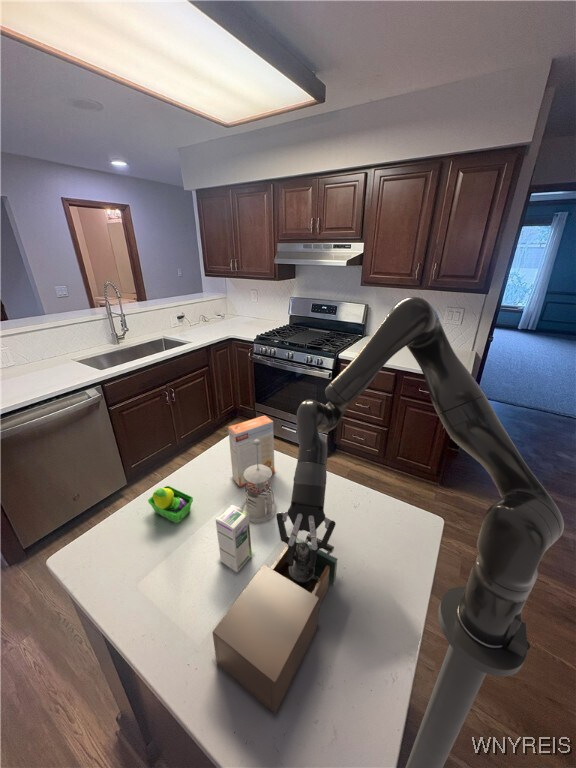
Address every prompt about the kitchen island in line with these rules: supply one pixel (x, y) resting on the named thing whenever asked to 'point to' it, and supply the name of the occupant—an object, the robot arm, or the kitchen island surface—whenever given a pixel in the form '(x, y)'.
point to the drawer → (323, 567)
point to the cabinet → (266, 635)
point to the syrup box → (234, 537)
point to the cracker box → (251, 446)
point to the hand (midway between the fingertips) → (300, 566)
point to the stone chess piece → (302, 567)
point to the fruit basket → (171, 503)
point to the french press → (258, 492)
